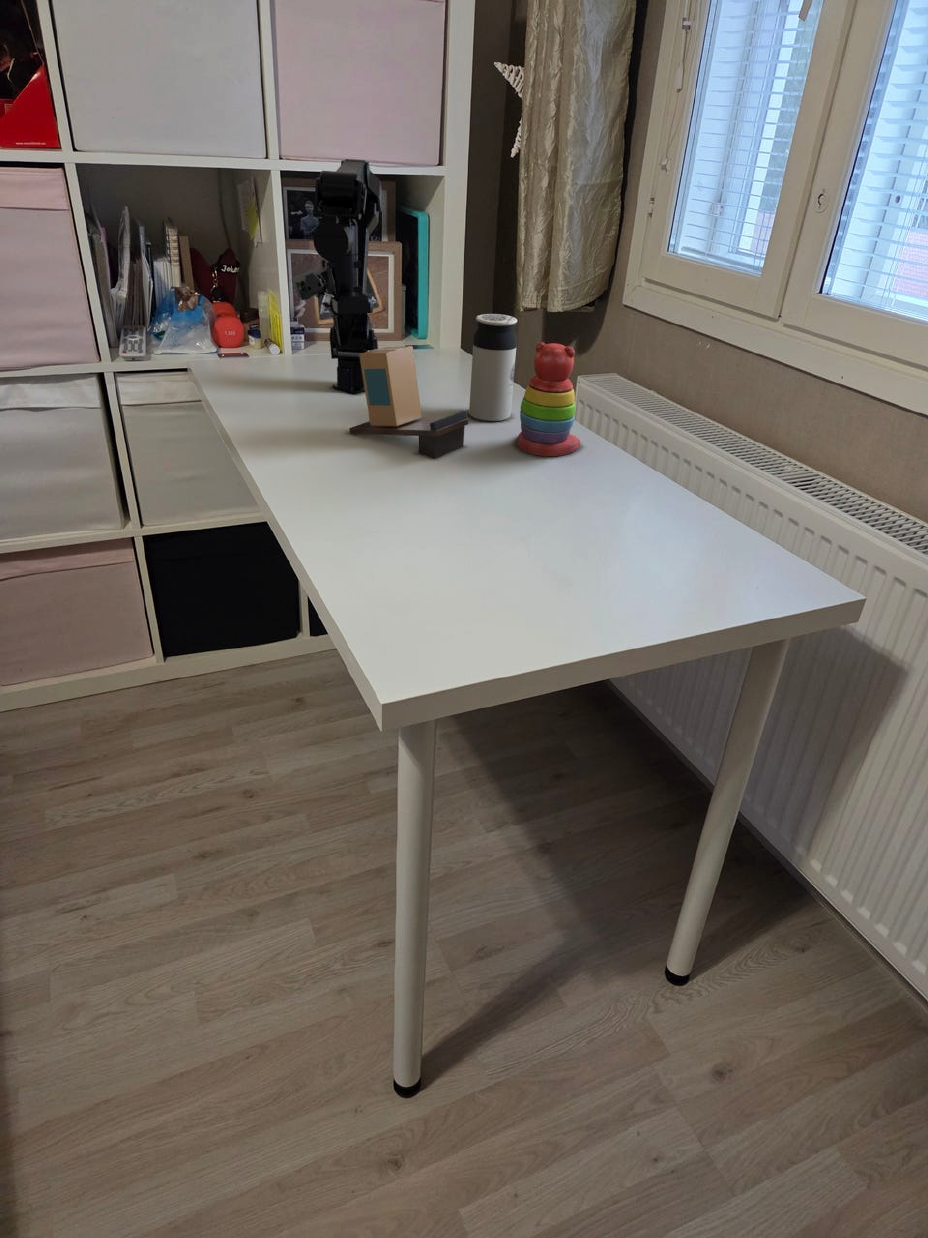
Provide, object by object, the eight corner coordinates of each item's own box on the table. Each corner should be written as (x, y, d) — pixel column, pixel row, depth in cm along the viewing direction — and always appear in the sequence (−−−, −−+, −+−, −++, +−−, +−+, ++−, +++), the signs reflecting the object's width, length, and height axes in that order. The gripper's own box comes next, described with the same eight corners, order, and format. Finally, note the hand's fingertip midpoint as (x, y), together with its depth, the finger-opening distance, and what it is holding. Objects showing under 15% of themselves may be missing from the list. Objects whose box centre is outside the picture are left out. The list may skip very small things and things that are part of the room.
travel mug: (462, 417, 160) (468, 318, 151) (477, 406, 167) (484, 311, 157) (502, 424, 158) (510, 324, 149) (515, 413, 164) (524, 317, 155)
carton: (359, 422, 148) (358, 345, 141) (385, 413, 153) (385, 339, 146) (396, 433, 144) (397, 355, 137) (421, 423, 149) (424, 348, 142)
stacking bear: (582, 444, 151) (596, 342, 142) (564, 461, 143) (577, 354, 134) (526, 433, 154) (536, 332, 145) (505, 449, 146) (514, 344, 137)
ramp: (349, 433, 149) (348, 398, 146) (382, 421, 155) (382, 388, 152) (436, 460, 140) (437, 424, 137) (467, 446, 146) (469, 412, 143)
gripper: (283, 245, 151) (288, 336, 159) (306, 261, 136) (310, 359, 144) (344, 246, 155) (346, 334, 163) (373, 261, 140) (373, 357, 148)
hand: (342, 345), depth 154 cm, fingers closed
